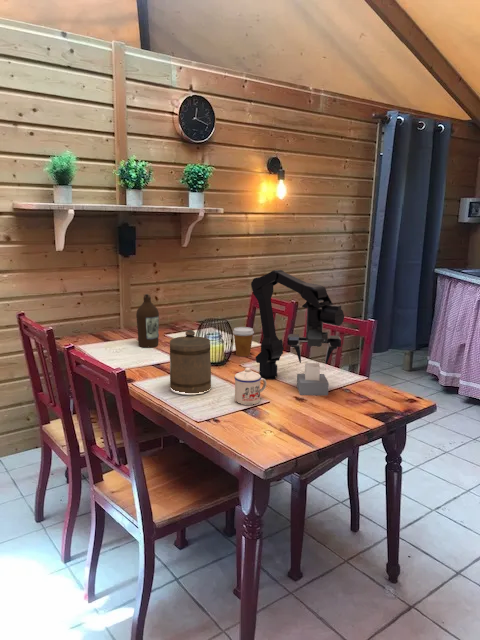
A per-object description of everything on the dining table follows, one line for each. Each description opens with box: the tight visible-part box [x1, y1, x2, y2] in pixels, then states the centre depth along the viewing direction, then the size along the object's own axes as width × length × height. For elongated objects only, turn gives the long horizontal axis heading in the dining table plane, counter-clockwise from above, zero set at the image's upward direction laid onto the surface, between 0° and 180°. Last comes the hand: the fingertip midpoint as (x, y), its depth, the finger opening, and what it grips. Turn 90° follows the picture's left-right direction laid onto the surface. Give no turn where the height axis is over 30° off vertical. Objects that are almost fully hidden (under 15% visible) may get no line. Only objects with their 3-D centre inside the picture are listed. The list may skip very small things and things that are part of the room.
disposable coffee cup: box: [232, 326, 255, 358], centre depth 225 cm, size 10×10×12 cm
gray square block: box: [296, 373, 330, 396], centre depth 181 cm, size 10×10×5 cm
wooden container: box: [169, 329, 212, 393], centre depth 180 cm, size 15×15×22 cm
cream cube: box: [304, 362, 321, 381], centre depth 180 cm, size 5×5×5 cm
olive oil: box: [135, 293, 160, 349], centre depth 237 cm, size 11×11×25 cm
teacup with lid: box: [234, 367, 267, 406], centre depth 170 cm, size 12×9×12 cm
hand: (313, 363), depth 179 cm, fingers open, 9 cm apart
